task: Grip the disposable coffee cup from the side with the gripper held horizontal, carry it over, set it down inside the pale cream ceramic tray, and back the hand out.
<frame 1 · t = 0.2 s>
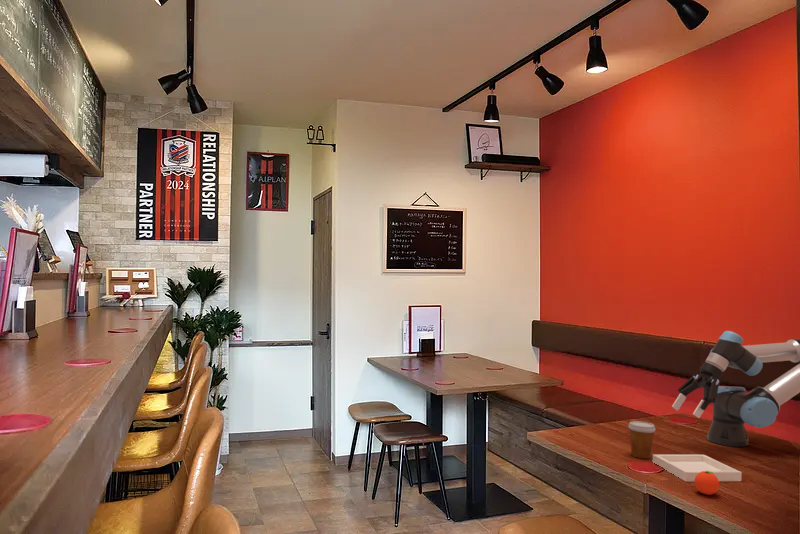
hand: (685, 412, 242), 15 cm above the table, tool tilted 35°, fingers open, 13 cm apart
cream tray: (695, 471, 216), on the table
clementine: (707, 494, 194), on the table
disposable coffee cup: (640, 456, 232), on the table
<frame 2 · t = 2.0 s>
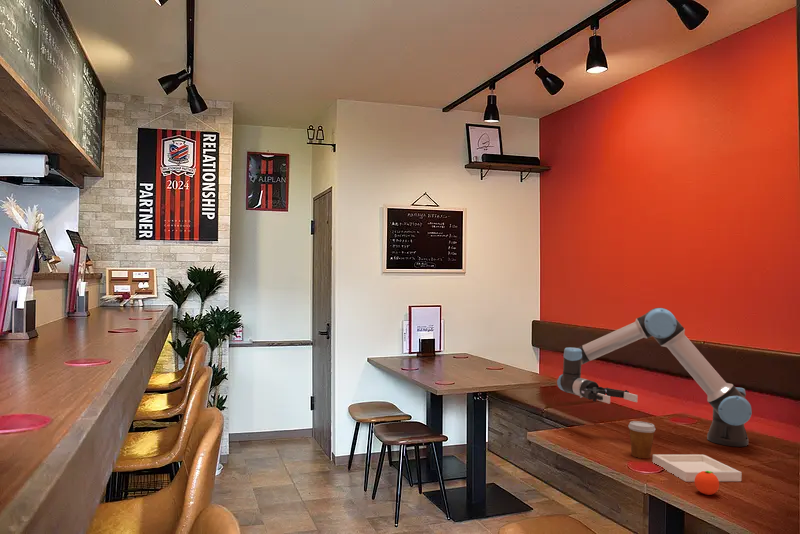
hand: (623, 399, 241), 19 cm above the table, tool horizontal, fingers open, 13 cm apart
nothing on the table moved.
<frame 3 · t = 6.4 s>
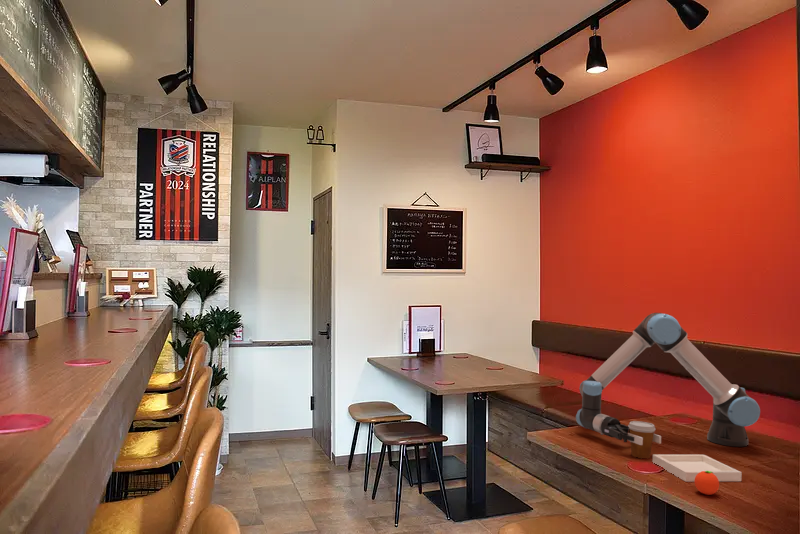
hand: (651, 440, 228), 7 cm above the table, tool horizontal, fingers closed on disposable coffee cup, 8 cm apart
disposable coffee cup: (640, 456, 232), on the table, touching gripper
everything else where it was.
when the fingers open (9 cm above the table, at t = 11.2 s): disposable coffee cup drops 1 cm, resting on cream tray.
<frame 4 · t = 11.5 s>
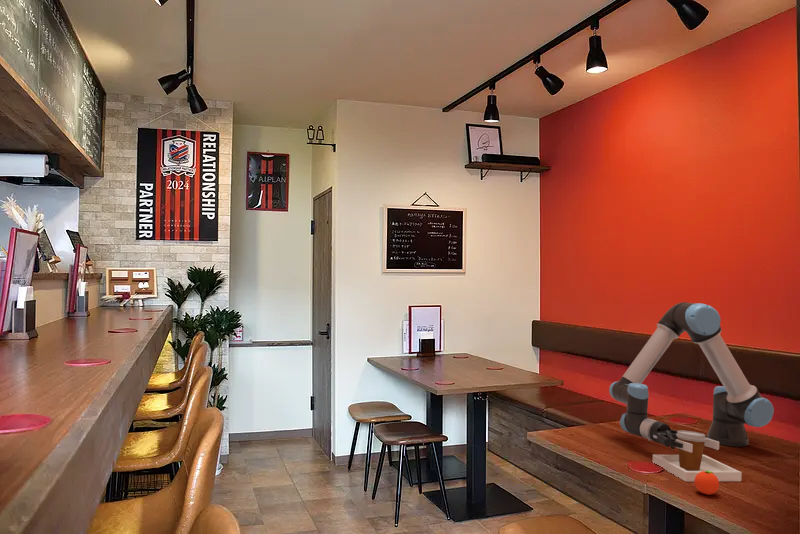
hand: (705, 447, 213), 9 cm above the table, tool horizontal, fingers open, 12 cm apart
disposable coffee cup: (689, 468, 215), point 1 cm above the table, touching cream tray, gripper
everything else where it was.
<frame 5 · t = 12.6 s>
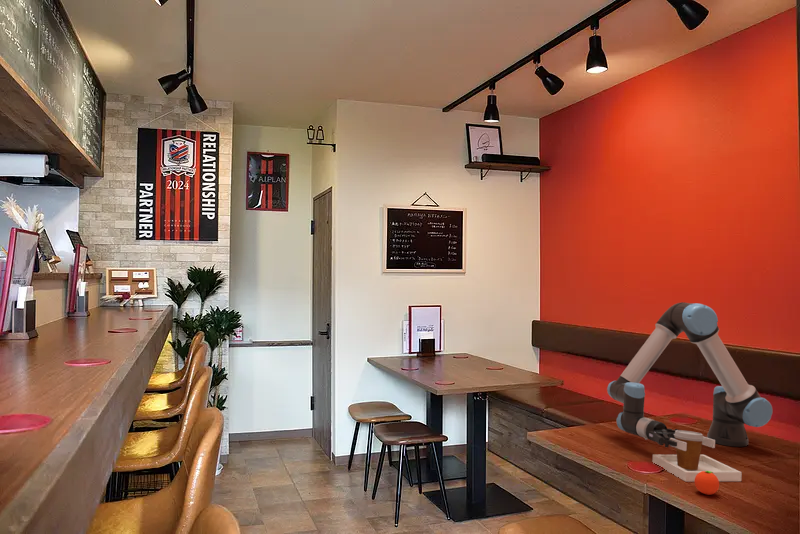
hand: (700, 445, 214), 10 cm above the table, tool horizontal, fingers open, 13 cm apart
disposable coffee cup: (687, 468, 216), point 1 cm above the table, touching cream tray
everything else where it was.
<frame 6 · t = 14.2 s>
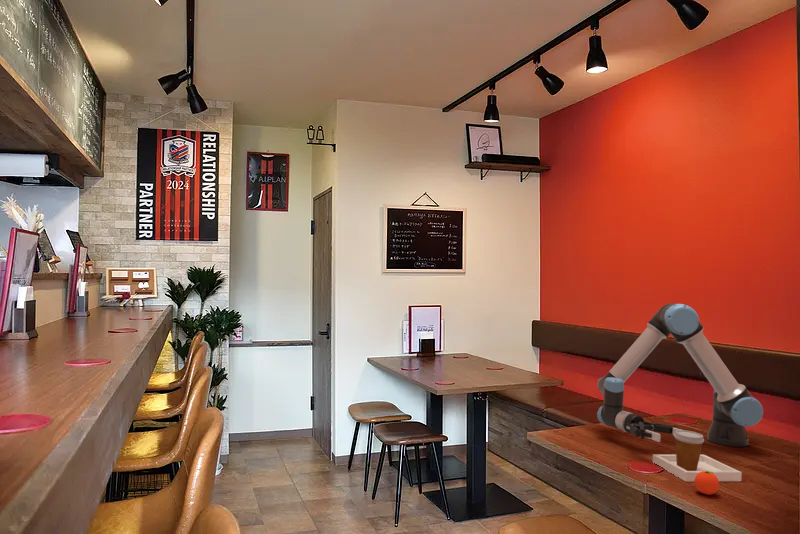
hand: (674, 436, 225), 10 cm above the table, tool horizontal, fingers open, 13 cm apart
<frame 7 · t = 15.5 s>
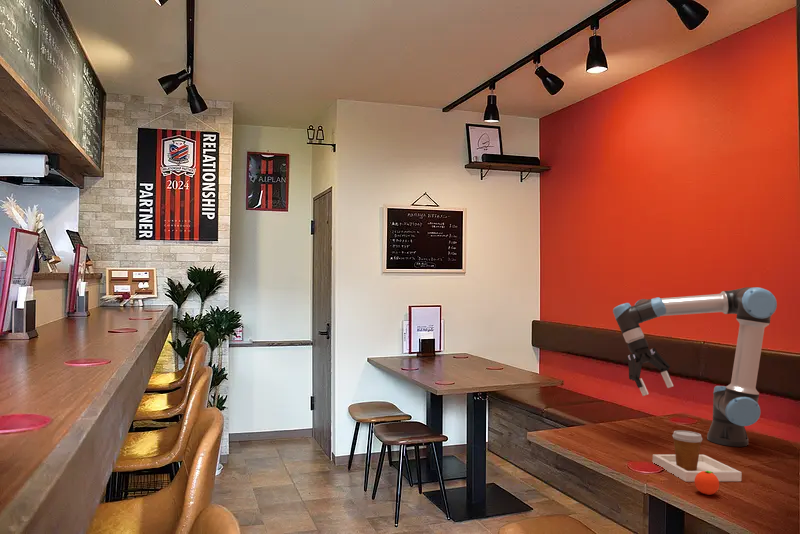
hand: (658, 391, 246), 22 cm above the table, tool tilted 25°, fingers open, 13 cm apart
nothing on the table moved.
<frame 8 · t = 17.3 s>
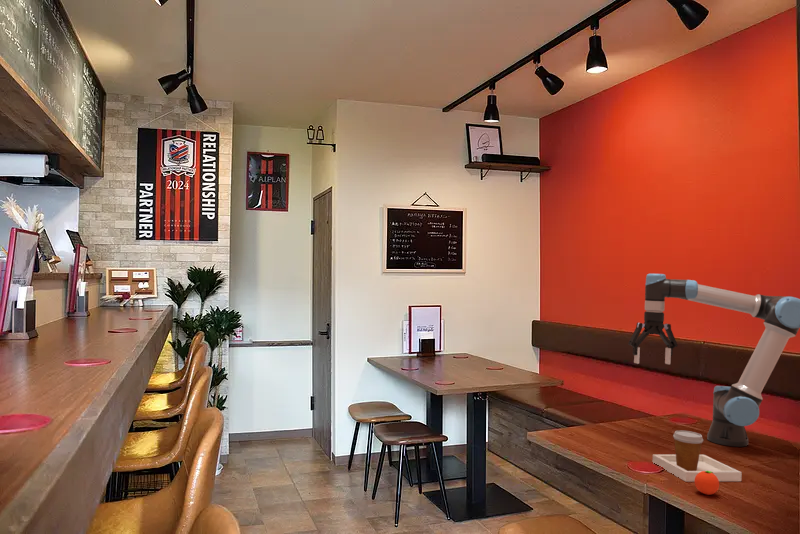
hand: (652, 363, 254), 32 cm above the table, tool pointing down, fingers open, 13 cm apart
nothing on the table moved.
at the end: disposable coffee cup inside the target area on the cream tray (3.1 cm from its centre), point 0.8 cm above the cream tray's base; disposable coffee cup tilted 0°; the gripper is holding nothing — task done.
